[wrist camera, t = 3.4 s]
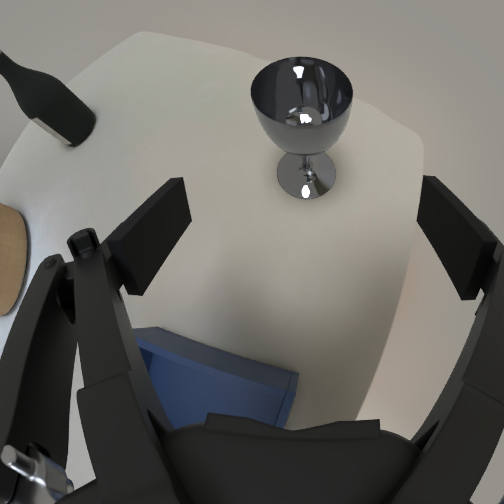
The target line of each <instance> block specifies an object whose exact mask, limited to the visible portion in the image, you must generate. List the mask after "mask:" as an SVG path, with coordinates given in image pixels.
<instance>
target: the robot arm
mask: <svg viewBox="0 0 504 504" xmlns="http://www.w3.org/2000/svg"><path fill="white" fill-rule="evenodd" d="M191 221H192V219H191V214H190V210H189V205H188V200H187V195H186V190H185V185H184V180H183V177H179V178H170V179H169V180H168V181H167V182H166V183H165V184H164V185H163V186H161V187H160V188H159V189H158V190H157V191H156V192H155V193H154V194H153V195H151V196H150V197H149V198H148V199H147V200H146V201H145V202H144V203H143V204H142V205H141V206H140V207H139V208H138V209H137V210H135V211H134V212H133V213H132V214H131V215H130V216H129V217H128V218H127V219H126V220H125V221H124V222H122V223H121V224H120V225H119V226H118V227H117V228H116V230H114V231H113V232H112V233H111V234H110V235H109V236H108V237H107V238H106V239H105V240H104V241H103V242H102V243H101V244H100V243H99V241H98V238H97V235H96V233H95V230H94V229H93V228H86V229H83V230H80V231H78V232H76V233H74V234H73V235H72V236H70V238H69V239H68V240H67V244H68V247H69V249H70V251H71V254H72V256H73V258H74V261H72V262H68V263H65V262H64V260H63V257H62V256H61V254H55V255H52V256H48V257H47V258H45V259H44V261H43V262H42V263H41V264H40V265H39V267H38V269H37V271H36V273H35V275H34V277H33V279H32V281H31V283H30V285H29V287H28V289H27V292H26V294H25V296H24V298H23V300H22V303H21V305H20V307H19V310H18V312H17V315H16V317H15V320H14V322H13V325H12V327H11V330H10V333H9V335H8V338H7V341H6V344H5V347H4V350H3V353H2V356H1V359H0V504H473V503H472V502H471V501H470V498H471V496H472V494H473V493H474V491H475V489H476V487H477V485H478V484H479V482H480V480H481V478H482V476H483V474H484V472H485V470H486V468H487V466H488V464H489V462H490V459H491V458H492V455H493V453H494V451H495V448H496V446H497V444H498V441H499V439H500V436H501V433H502V431H503V428H504V245H503V244H502V243H501V242H500V241H499V240H498V238H497V237H496V236H495V235H494V234H493V232H492V231H491V230H489V228H488V227H487V225H486V224H485V223H484V222H482V221H481V220H479V219H478V218H477V217H476V216H475V215H474V214H473V213H472V212H471V211H470V210H469V209H468V208H467V207H466V206H465V205H464V204H463V203H462V202H461V201H460V200H459V199H458V198H457V197H456V196H455V195H454V194H453V193H452V192H451V191H450V190H449V189H448V188H447V187H446V186H445V185H444V184H443V183H442V182H441V181H440V180H439V179H437V178H436V177H435V176H425V175H423V182H422V189H421V197H420V203H419V209H418V215H417V222H418V224H419V226H420V227H421V229H422V230H423V232H424V233H425V235H426V237H427V238H428V240H429V241H430V243H431V245H432V246H433V248H434V250H435V252H436V253H437V255H438V257H439V259H440V260H441V262H442V264H443V266H444V268H445V269H446V271H447V273H448V275H449V277H450V279H451V280H452V282H453V284H454V286H455V288H456V290H457V292H458V294H459V296H460V298H461V300H475V299H476V297H477V295H478V293H479V290H480V288H481V289H482V290H483V292H484V296H483V299H482V301H481V303H480V305H479V307H478V309H477V311H476V313H475V315H476V317H475V321H474V323H473V326H472V328H471V331H470V333H469V336H468V338H467V341H466V343H465V345H464V348H463V350H462V352H461V354H460V357H459V359H458V361H457V363H456V365H455V368H454V369H453V371H452V373H451V375H450V377H449V379H448V381H447V383H446V385H445V387H444V389H443V391H442V393H441V394H440V396H439V398H438V400H437V402H436V403H435V405H434V407H433V408H432V410H431V412H430V413H429V415H428V417H427V418H426V420H425V421H424V423H423V425H422V426H421V428H420V429H419V430H418V432H417V433H416V434H415V435H414V437H413V438H412V439H411V440H410V441H409V440H408V439H406V438H404V437H402V436H400V435H398V434H395V433H392V432H389V431H385V430H380V419H375V420H360V421H337V422H333V423H329V424H325V425H320V426H316V427H311V428H306V429H301V430H296V431H291V430H286V429H283V428H280V427H276V426H273V425H270V424H267V423H264V422H261V421H257V420H255V419H252V418H249V417H240V416H232V415H224V414H217V413H211V412H208V413H207V417H206V420H205V422H200V423H194V424H189V425H186V426H182V427H180V428H177V429H174V427H173V426H172V424H171V423H170V421H169V419H168V417H167V415H166V413H165V411H164V409H163V407H162V404H161V402H160V400H159V398H158V395H157V393H156V391H155V388H154V386H153V383H152V381H151V378H150V376H149V374H148V371H147V368H146V366H145V363H144V361H143V358H142V355H141V353H140V350H139V347H138V344H137V341H136V338H135V336H134V333H133V330H132V327H131V324H130V320H129V317H128V314H127V311H126V308H125V304H124V301H123V298H122V295H121V293H120V291H119V289H120V288H121V286H122V285H123V284H124V286H125V289H126V291H127V293H128V295H139V296H143V294H144V293H145V291H146V289H147V288H148V286H149V285H150V283H151V281H152V280H153V278H154V277H155V275H156V274H157V272H158V270H159V269H160V267H161V266H162V264H163V263H164V261H165V260H166V258H167V257H168V255H169V254H170V252H171V251H172V249H173V248H174V246H175V245H176V243H177V242H178V240H179V239H180V237H181V236H182V234H183V233H184V231H185V230H186V229H187V227H188V226H189V224H190V223H191ZM77 342H78V347H79V355H80V362H81V369H82V375H83V381H84V388H82V389H79V390H78V391H77V404H78V409H79V414H80V419H81V424H82V428H83V433H84V437H85V441H86V445H87V449H88V452H89V456H90V460H91V463H92V466H93V470H94V473H95V476H96V479H94V480H93V481H91V482H89V483H87V484H85V485H84V486H82V487H80V488H78V489H76V490H74V485H73V483H72V481H71V480H70V479H68V478H67V476H66V473H65V469H66V463H67V456H68V441H69V414H70V400H71V388H72V379H73V370H74V362H75V355H76V349H77ZM73 490H74V491H73ZM498 504H504V496H503V497H502V499H501V501H500V503H498Z"/></svg>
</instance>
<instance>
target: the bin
mask: <svg viewBox="0 0 504 504" xmlns="http://www.w3.org/2000/svg"><path fill="white" fill-rule="evenodd" d="M132 330H133V333H134V336H135V338H136V341H137V344H138V347H139V350H140V353H141V355H142V358H143V361H144V363H145V366H146V368H147V371H148V374H149V376H150V378H151V381H152V383H153V386H154V388H155V391H156V393H157V395H158V398H159V400H160V402H161V404H162V407H163V409H164V411H165V413H166V415H167V417H168V419H169V421H170V423H171V424H172V426H173V427H174V429H177V428H180V427H182V426H186V425H189V424H194V423H200V422H205V420H206V417H207V413H208V412H211V413H217V414H224V415H232V416H240V417H249V418H252V419H255V420H257V421H261V422H264V423H267V424H270V425H273V426H276V427H280V428H283V429H284V426H285V424H286V421H287V418H288V415H289V412H290V409H291V407H292V404H293V401H294V398H295V395H296V390H297V383H298V376H299V373H297V372H293V371H290V370H286V369H282V368H278V367H275V366H271V365H268V364H264V363H261V362H257V361H254V360H251V359H247V358H244V357H241V356H238V355H234V354H231V353H228V352H225V351H222V350H219V349H216V348H213V347H210V346H207V345H205V344H202V343H199V342H196V341H193V340H190V339H188V338H185V337H182V336H180V335H177V334H174V333H172V332H169V331H167V330H164V329H162V328H159V327H151V328H136V329H132Z"/></svg>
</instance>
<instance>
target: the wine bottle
mask: <svg viewBox="0 0 504 504" xmlns="http://www.w3.org/2000/svg"><path fill="white" fill-rule="evenodd" d="M0 74H1V75H2V76H3V77H4V78H5V79H6V81H7V82H8V83H9V85H10V87H11V89H12V91H13V93H14V95H15V98H16V100H17V102H18V104H19V106H20V108H21V109H22V111H23V112H24V113H25V114H26V115H27V117H28V118H29V119H31V120H32V121H33V122H35V123H36V124H38V125H39V126H40V127H42V128H43V129H44V130H46V131H47V132H48V133H50V134H51V135H53V136H54V137H55V138H57V139H58V140H59V141H61V142H62V143H64V144H66V145H68V146H73V145H76V144H78V143H80V142H81V141H82V140H83V139H84V138H85V137H86V136H87V135H88V134H89V132H90V131H91V129H92V127H93V124H94V114H93V112H92V111H91V110H90V109H89V108H88V107H87V106H86V105H85V104H84V103H83V102H82V101H81V100H80V99H79V98H78V97H77V96H76V95H75V94H74V93H72V92H71V91H70V90H69V89H68V88H67V87H66V86H65V85H64V84H63V83H62V82H61V81H60V80H58V79H57V78H55V77H53V76H51V75H49V74H46V73H43V72H39V71H35V70H32V69H28V68H25V67H22V66H20V65H18V64H16V63H15V62H13V61H12V60H11V59H10V58H9V57H8V56H6V55H5V54H4V53H3V52H2V51H1V50H0Z"/></svg>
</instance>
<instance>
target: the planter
mask: <svg viewBox="0 0 504 504" xmlns="http://www.w3.org/2000/svg"><path fill="white" fill-rule="evenodd" d="M26 262H27V236H26V229H25V225H24V221H23V219H22V217H21V215H20V213H19V212H18V211H16V210H15V209H13V208H11V207H9V206H6V205H4V204H1V203H0V316H3V315H5V314H6V313H8V312H9V311H10V309H11V308H12V307H13V305H14V303H15V302H16V300H17V298H18V295H19V292H20V290H21V287H22V283H23V280H24V275H25V269H26Z"/></svg>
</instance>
